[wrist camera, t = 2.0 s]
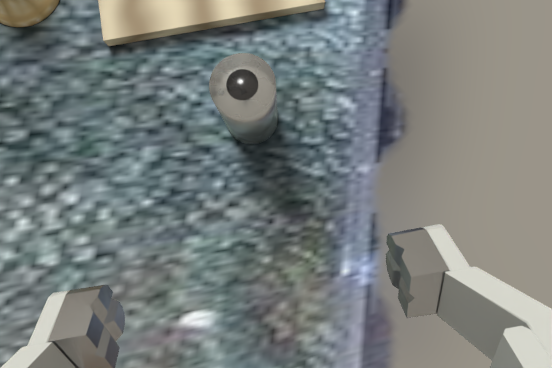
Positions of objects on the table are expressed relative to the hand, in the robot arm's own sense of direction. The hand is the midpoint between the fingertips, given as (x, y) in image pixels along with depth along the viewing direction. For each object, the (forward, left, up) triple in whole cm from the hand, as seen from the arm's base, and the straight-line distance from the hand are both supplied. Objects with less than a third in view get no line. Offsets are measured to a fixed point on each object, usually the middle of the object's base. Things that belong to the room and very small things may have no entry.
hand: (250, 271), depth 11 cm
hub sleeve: (0, +12, -26) cm, 28 cm away
